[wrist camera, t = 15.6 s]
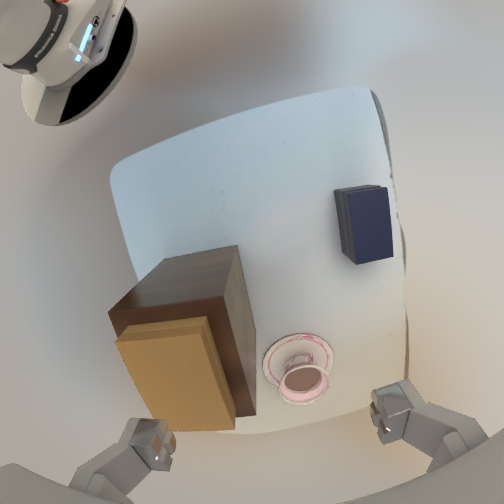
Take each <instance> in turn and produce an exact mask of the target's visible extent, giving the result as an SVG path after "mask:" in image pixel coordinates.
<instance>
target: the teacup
mask: <svg viewBox="0 0 504 504" xmlns="http://www.w3.org/2000/svg"><path fill="white" fill-rule="evenodd" d="M333 361H334V356H333V351H332V349H331V347H330V346H329V344H328V343H327V342H326V341H325V340H323V339H322V338H320V337H318V336H315V335H311V334H294V335H291V336H287V337H284V338H283V339H281V340H279V341H277V342H276V343H274V344H273V345H272V346H271V347H270V349H269V350H268V351H267V352H266V355H265V357H264V359H263V371H264V374H265V376H266V378H267V379H268V380H269V381H270V382H271V383H272V384H273V385H275V386H277V387H279V393H280V395H281V397H282V398H283V399H284V400H285V401H286V402H288V403H290V404H293V405H306V404H309V403H312V402H314V401H316V400H318V399H319V398H320V397H321V396H322V395H323V394H324V393H325V392H326V391H327V389H328V387H329V383H330V378H329V375H328V374H329V372H330V370H331V368H332V366H333Z"/></svg>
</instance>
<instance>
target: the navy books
mask: <svg viewBox="0 0 504 504" xmlns="http://www.w3.org/2000/svg"><path fill="white" fill-rule="evenodd" d="M377 187H380V186H376V185H365V186H358V187H351V188H345V189H338V190H334V194H335V201H336V207H337V214H338V221H339V229H340V237H341V245H342V252H343V253H344V254H345V255H346V256H348V257H349V258H350V259H351V254H350V244H349V235H348V227H347V219H346V212H345V204H344V198H343V192H349V191H356V190H363V189H370V188H377Z"/></svg>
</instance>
